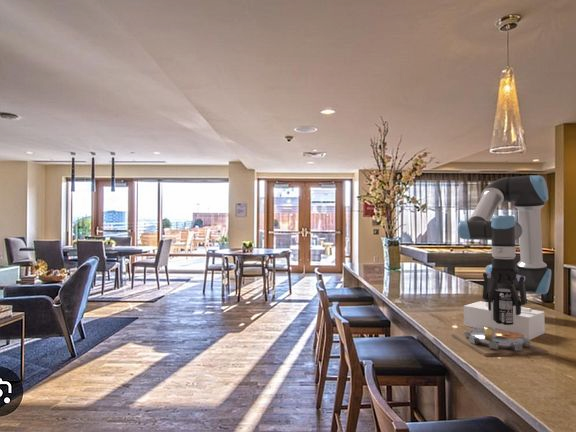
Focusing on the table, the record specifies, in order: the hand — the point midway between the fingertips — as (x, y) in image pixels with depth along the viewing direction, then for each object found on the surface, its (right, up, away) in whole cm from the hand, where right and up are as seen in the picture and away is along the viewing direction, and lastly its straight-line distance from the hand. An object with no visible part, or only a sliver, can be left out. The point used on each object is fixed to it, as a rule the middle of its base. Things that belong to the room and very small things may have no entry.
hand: (504, 321), depth 137 cm
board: (-4, -8, -2) cm, 9 cm away
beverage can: (0, -1, 0) cm, 1 cm away
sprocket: (-4, -6, -2) cm, 8 cm away
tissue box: (+9, -8, +18) cm, 22 cm away
